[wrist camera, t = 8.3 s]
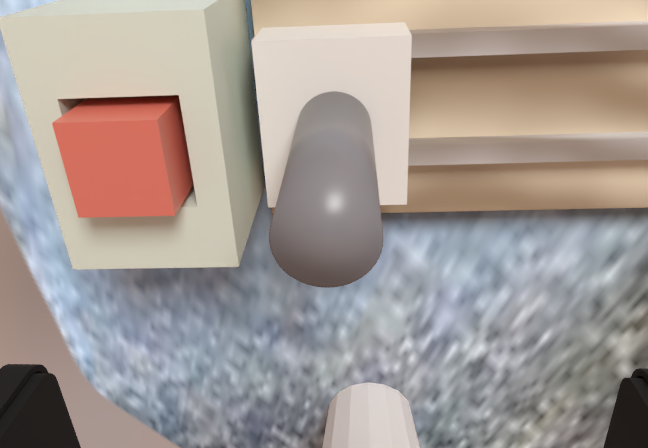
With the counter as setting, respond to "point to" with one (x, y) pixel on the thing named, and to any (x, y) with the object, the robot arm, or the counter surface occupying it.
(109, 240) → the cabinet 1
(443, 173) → the rail track
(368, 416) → the pale pink cylinder cup
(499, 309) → the counter surface
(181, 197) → the red block
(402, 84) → the carriage
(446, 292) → the counter surface
